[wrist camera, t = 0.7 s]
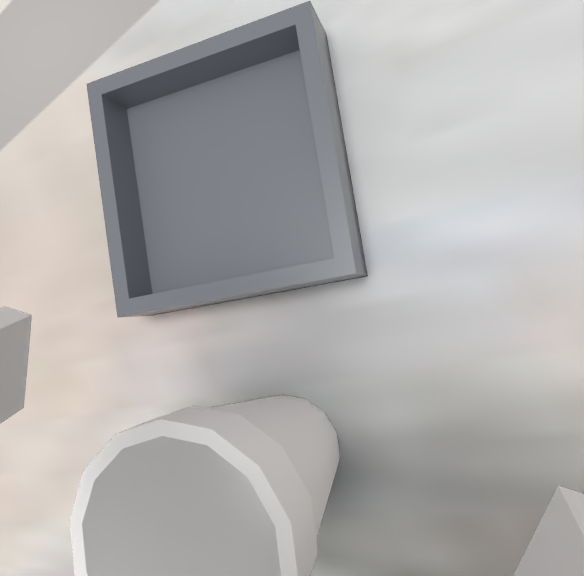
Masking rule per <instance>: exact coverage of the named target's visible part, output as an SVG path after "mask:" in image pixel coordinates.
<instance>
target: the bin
mask: <svg viewBox="0 0 584 576" xmlns="http://www.w3.org/2000/svg"><path fill="white" fill-rule="evenodd" d="M87 91H88V98H89V106H90V113H91V121H92V129H93V136H94V144H95V151H96V159H97V166H98V174H99V181H100V189H101V196H102V204H103V211H104V219H105V226H106V234H107V241H108V249H109V256H110V264H111V271H112V279H113V287H114V294H115V302H116V309H117V317H133V316H149V315H156V314H162V313H167V312H173V311H178V310H184V309H189V308H195V307H200V306H206V305H211V304H217V303H222V302H228V301H233V300H239V299H244V298H250V297H255V296H261V295H266V294H272V293H277V292H283V291H288V290H294V289H299V288H305V287H310V286H316V285H321V284H327V283H332V282H338V281H343V280H349V279H354V278H360V277H365V276H367V270H366V264H365V258H364V253H363V247H362V241H361V235H360V229H359V223H358V217H357V212H356V206H355V200H354V194H353V188H352V182H351V176H350V171H349V165H348V159H347V153H346V147H345V141H344V135H343V130H342V124H341V118H340V112H339V106H338V100H337V94H336V89H335V83H334V77H333V71H332V65H331V59H330V53H329V48H328V42H327V36H326V32H325V30H324V28H323V26H322V24H321V22H320V20H319V18H318V16H317V14H316V12H315V10H314V8H313V6H312V4H311V2H310V1H308V2H305V3H302V4H300V5H297V6H294V7H292V8H289V9H286V10H284V11H281V12H278V13H276V14H273V15H270V16H268V17H265V18H262V19H259V20H257V21H254V22H251V23H249V24H246V25H243V26H241V27H238V28H235V29H233V30H230V31H227V32H225V33H222V34H219V35H217V36H214V37H211V38H209V39H206V40H203V41H201V42H198V43H195V44H192V45H190V46H187V47H184V48H182V49H179V50H176V51H174V52H171V53H168V54H166V55H163V56H160V57H158V58H155V59H152V60H150V61H147V62H144V63H142V64H139V65H136V66H134V67H131V68H128V69H125V70H123V71H120V72H117V73H115V74H112V75H109V76H107V77H104V78H101V79H99V80H96V81H93V82H91V83H88V84H87Z"/></svg>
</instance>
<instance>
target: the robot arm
mask: <svg viewBox="0 0 584 576" xmlns="http://www.w3.org/2000/svg"><path fill="white" fill-rule="evenodd" d="M31 319H32V315H31V314H27V313H24V312H21V311H18V310H15V309H12V308H9V307H6V306H4V307H2V308H0V424H1V423H2V422H4V421H5V420H7V419H8V418H9V417H11V416H12V415H14V414H15V413H17V412H18V411H20V410H21V409H23V408H24V399H25V387H26V376H27V365H28V353H29V342H30V331H31ZM513 576H584V494H583V493H579V492H576V491H573V490H570V489H567V488H564V487H561V486H558V487H557V489H556V491H555V493H554V495H553V497H552V499H551V501H550V503H549V505H548V507H547V509H546V511H545V513H544V515H543V517H542V519H541V521H540V523H539V525H538V527H537V529H536V531H535V533H534V535H533V537H532V539H531V541H530V543H529V545H528V547H527V549H526V551H525V553H524V555H523V557H522V559H521V561H520V563H519V565H518V567H517V569H516V571H515V573H514V575H513Z"/></svg>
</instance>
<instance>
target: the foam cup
mask: <svg viewBox="0 0 584 576" xmlns="http://www.w3.org/2000/svg"><path fill="white" fill-rule="evenodd" d="M339 458H340V454H339V446H338V438H337V433H336V431H335V429H334V428H333V426H332V424H331V423H330V421H329V419H328V418H327V416H326V414H325V413H324V412H323V411H322V410H320V409H319V408H317V407H316V406H315V405H313V404H312V403H310V402H309V401H307V400H306V399H304V398H298V397H292V396H286V395H282V396H280V395H279V396H274V397H268V398H262V399H257V400H251V401H245V402H239V403H234V404H228V405H222V406H216V407H211V408H203V407H197V406H191V407H188V408H185V409H182V410H179V411H176V412H173V413H170V414H167V415H164V416H161V417H158V418H155V419H152V420H150V421H147V422H145V423H142V424H140V425H137V426H135V427H133V428H130V429H128V430H125V431H123V432H120V433H118V434H115V435H114V437H113V438H112V439H111V440H110V441H109V442H108V443H107V444H106V446H105V447H104V448H103V449H102V450H101V451H100V452H99V454H98V455H97V456H96V457H95V458H94V459H93V460H92V461H91V463H90V464H89V465H88V466H87V467H86V468H85V469H84V471H83V474H82V478H81V481H80V485H79V488H78V492H77V495H76V499H75V502H74V506H73V509H72V513H71V516H70V531H71V542H72V552H73V563H74V574H75V576H310V575H311V572H312V569H313V566H314V563H315V560H316V557H317V554H318V550H317V542H316V539H317V536H318V532H319V529H320V525H321V522H322V518H323V515H324V511H325V508H326V504H327V501H328V498H329V494H330V491H331V487H332V484H333V480H334V477H335V473H336V470H337V466H338V463H339Z"/></svg>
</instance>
